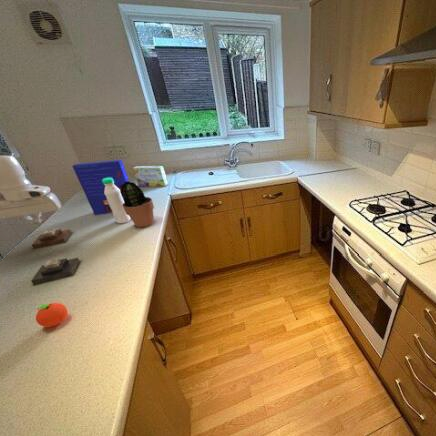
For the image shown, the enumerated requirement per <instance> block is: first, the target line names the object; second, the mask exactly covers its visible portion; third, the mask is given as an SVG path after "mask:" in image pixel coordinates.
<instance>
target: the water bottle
mask: <svg viewBox="0 0 436 436" xmlns="http://www.w3.org/2000/svg"><path fill="white" fill-rule="evenodd" d="M102 182H103V184H104V185H105V190H104V194H105V195H106V198H107V201H108V203H109V205H110V208H111V210H112V212H111V213H112V215H113V217H114V220H115V222H116V223H117V224H125V223H127V222H130V220H132V219H131V218H130V216H129V215H127V214H126V212H125V210H124V208H123V203H124V200H123V197H122V195H121V193H120V189H119V188H118V187H117V186H116V185H114V180H113V178H104V179H102Z"/></svg>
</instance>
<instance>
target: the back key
mask: <svg viewBox="0 0 436 436" xmlns="http://www.w3.org/2000/svg"><path fill="white" fill-rule="evenodd" d="M56 230H57V229H55V228H51V229H46V230H45V231H43V233H42V234H43V236H50V235H54V234H55V233H56Z"/></svg>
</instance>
